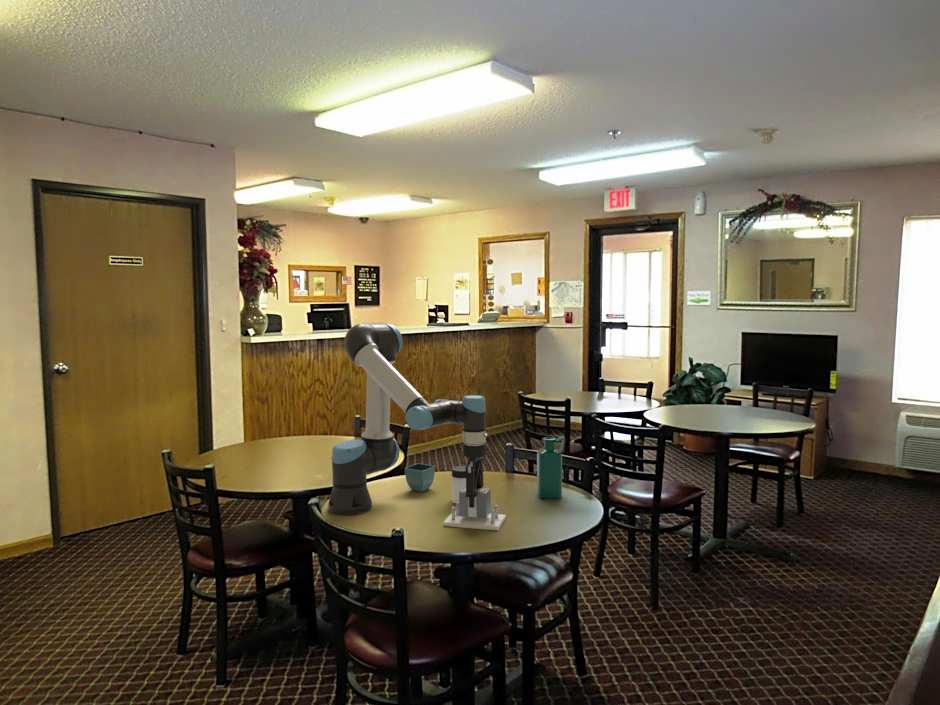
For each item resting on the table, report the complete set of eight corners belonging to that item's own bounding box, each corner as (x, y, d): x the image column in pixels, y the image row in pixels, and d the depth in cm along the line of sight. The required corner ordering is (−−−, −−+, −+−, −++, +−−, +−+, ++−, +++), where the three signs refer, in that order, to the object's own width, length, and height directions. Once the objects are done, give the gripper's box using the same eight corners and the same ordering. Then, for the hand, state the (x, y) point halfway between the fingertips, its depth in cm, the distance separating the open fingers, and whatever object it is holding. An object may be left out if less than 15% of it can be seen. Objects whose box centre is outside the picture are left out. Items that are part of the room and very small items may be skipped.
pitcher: (539, 499, 235) (539, 439, 233) (536, 492, 243) (536, 435, 242) (566, 498, 235) (566, 439, 234) (562, 492, 244) (562, 434, 242)
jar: (458, 506, 228) (458, 472, 227) (446, 500, 235) (446, 468, 234) (479, 501, 233) (479, 469, 232) (467, 496, 240) (467, 464, 239)
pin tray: (443, 525, 207) (443, 510, 207) (453, 514, 219) (453, 499, 219) (497, 530, 203) (497, 514, 202) (505, 518, 214) (505, 502, 214)
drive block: (459, 516, 209) (459, 491, 208) (464, 510, 215) (464, 486, 214) (486, 518, 207) (486, 493, 206) (490, 512, 212) (490, 488, 212)
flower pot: (422, 494, 242) (422, 470, 242) (404, 491, 247) (403, 468, 246) (436, 488, 250) (435, 465, 249) (417, 485, 255) (417, 463, 254)
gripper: (478, 450, 199) (479, 523, 200) (492, 438, 217) (493, 505, 219) (455, 449, 201) (455, 521, 202) (470, 437, 219) (471, 503, 221)
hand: (475, 513), depth 211 cm, fingers closed on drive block, 6 cm apart
